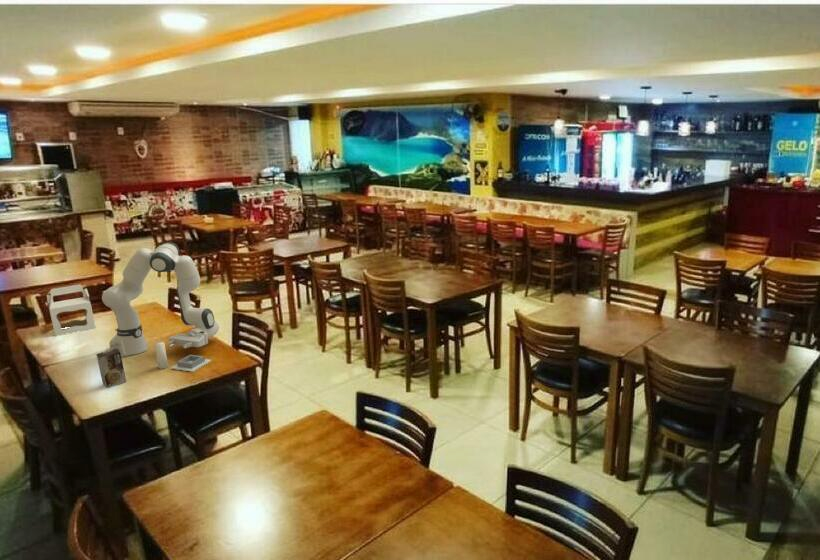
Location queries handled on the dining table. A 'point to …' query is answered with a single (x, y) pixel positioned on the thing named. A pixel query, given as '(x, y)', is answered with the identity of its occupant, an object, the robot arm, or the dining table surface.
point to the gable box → (70, 306)
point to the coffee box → (111, 368)
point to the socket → (191, 363)
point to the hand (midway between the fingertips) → (176, 345)
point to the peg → (161, 355)
